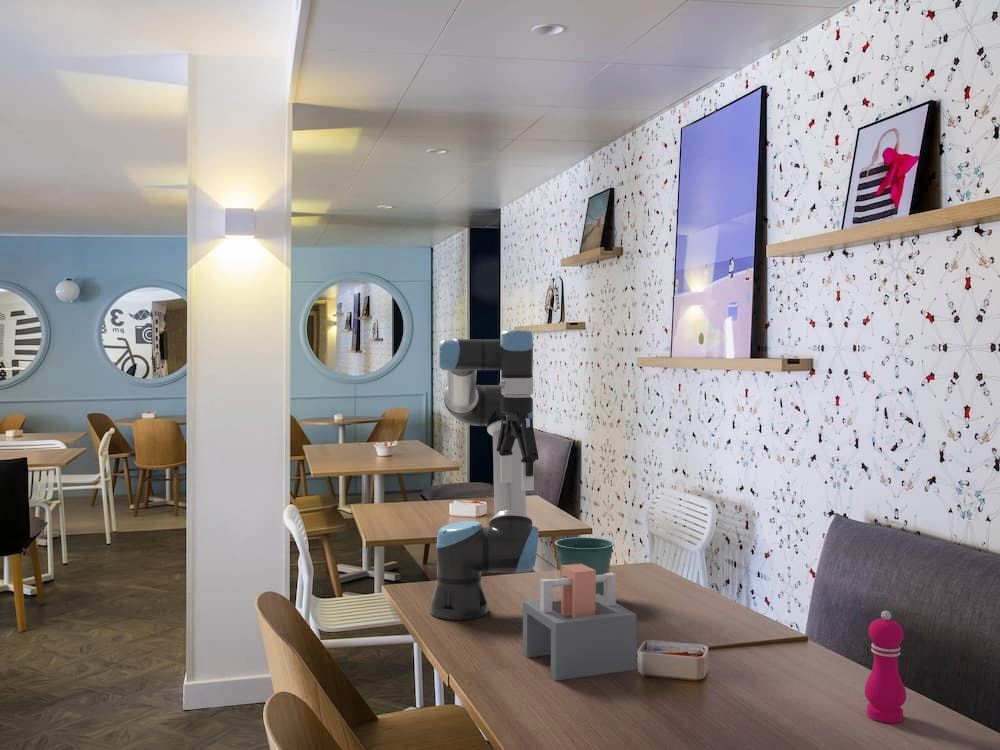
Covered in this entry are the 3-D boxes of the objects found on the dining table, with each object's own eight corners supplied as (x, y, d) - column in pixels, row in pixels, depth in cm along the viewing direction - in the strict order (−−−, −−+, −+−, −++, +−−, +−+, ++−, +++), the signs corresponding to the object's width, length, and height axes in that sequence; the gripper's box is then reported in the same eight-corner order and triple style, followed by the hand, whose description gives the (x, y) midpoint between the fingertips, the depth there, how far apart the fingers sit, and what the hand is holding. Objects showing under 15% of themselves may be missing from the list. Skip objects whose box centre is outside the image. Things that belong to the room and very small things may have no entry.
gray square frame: (522, 654, 207) (523, 571, 207) (598, 644, 214) (598, 564, 213) (555, 680, 190) (555, 590, 190) (636, 669, 197) (636, 582, 197)
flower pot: (544, 596, 256) (544, 539, 256) (594, 590, 263) (594, 534, 263) (573, 611, 242) (573, 550, 241) (625, 604, 248) (626, 545, 248)
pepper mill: (857, 710, 175) (858, 606, 174) (893, 708, 175) (894, 605, 175) (875, 725, 168) (877, 616, 167) (913, 724, 168) (915, 616, 168)
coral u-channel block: (561, 614, 204) (561, 565, 204) (581, 612, 206) (581, 563, 206) (574, 623, 198) (574, 572, 197) (595, 620, 199) (595, 570, 199)
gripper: (483, 394, 225) (483, 480, 226) (522, 398, 202) (521, 494, 202) (512, 393, 228) (512, 478, 228) (553, 398, 205) (552, 493, 205)
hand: (516, 486), depth 215 cm, fingers open, 13 cm apart
